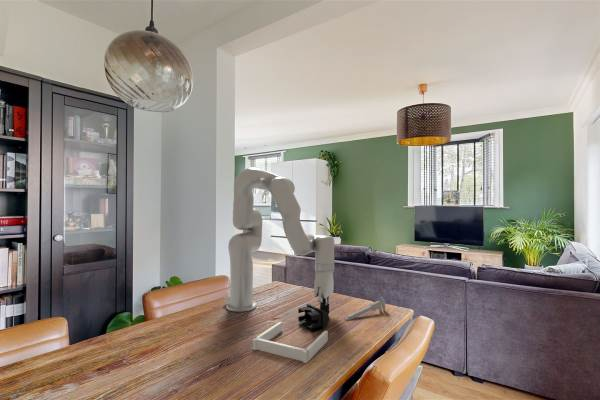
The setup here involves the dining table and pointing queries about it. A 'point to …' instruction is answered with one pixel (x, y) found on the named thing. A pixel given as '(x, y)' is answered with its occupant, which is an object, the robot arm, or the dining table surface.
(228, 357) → the dining table surface
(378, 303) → the caliper
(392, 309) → the dining table surface
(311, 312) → the end cap
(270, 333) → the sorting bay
